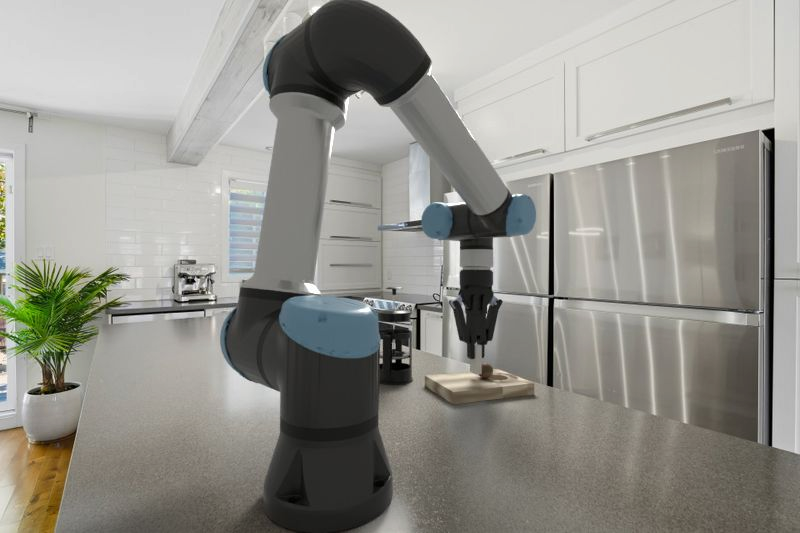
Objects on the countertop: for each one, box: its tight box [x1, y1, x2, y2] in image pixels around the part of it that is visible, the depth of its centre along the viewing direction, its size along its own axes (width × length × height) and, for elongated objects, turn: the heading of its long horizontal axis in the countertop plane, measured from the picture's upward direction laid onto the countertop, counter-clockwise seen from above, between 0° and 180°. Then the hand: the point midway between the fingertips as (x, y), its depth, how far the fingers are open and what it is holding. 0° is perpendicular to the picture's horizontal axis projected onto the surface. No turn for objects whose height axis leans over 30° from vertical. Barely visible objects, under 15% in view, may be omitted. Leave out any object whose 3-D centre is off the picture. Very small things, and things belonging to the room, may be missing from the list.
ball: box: [479, 362, 494, 379], centre depth 94 cm, size 4×4×4 cm
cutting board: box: [424, 368, 535, 405], centre depth 94 cm, size 14×20×2 cm
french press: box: [375, 286, 414, 386], centre depth 102 cm, size 12×9×23 cm
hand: (475, 372), depth 94 cm, fingers closed
